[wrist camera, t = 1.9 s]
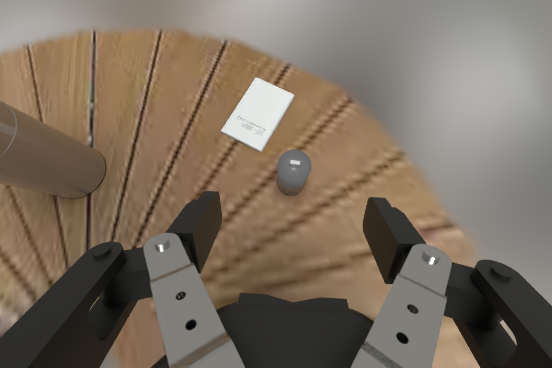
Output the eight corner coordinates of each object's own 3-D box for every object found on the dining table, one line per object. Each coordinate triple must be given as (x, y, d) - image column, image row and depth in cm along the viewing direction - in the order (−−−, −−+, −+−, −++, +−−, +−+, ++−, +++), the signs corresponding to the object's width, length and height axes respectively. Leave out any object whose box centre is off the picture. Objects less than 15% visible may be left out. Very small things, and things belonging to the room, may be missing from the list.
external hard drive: (293, 100, 44) (261, 154, 41) (256, 82, 45) (222, 134, 42) (294, 94, 42) (261, 150, 40) (255, 76, 43) (220, 130, 41)
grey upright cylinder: (275, 193, 39) (275, 176, 29) (279, 168, 40) (280, 143, 30) (301, 197, 39) (310, 181, 29) (305, 172, 40) (314, 148, 30)
